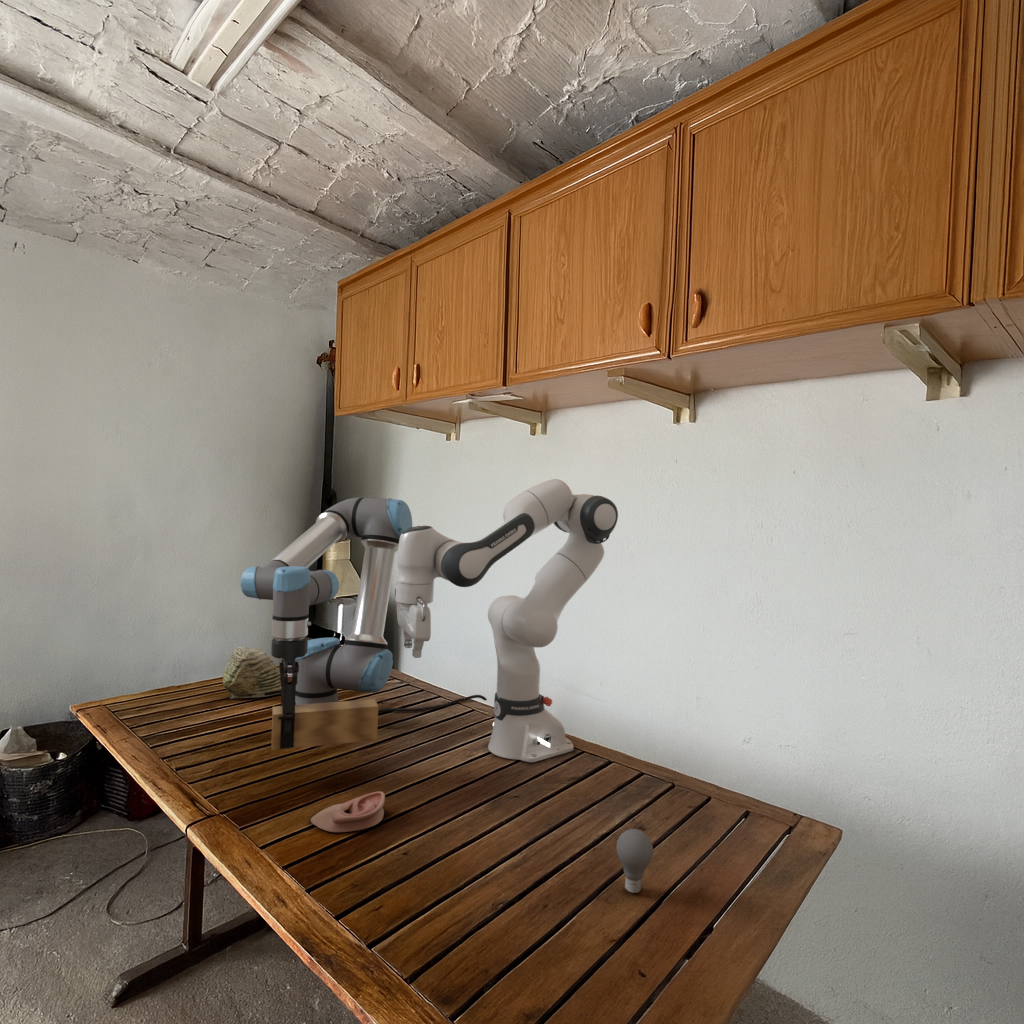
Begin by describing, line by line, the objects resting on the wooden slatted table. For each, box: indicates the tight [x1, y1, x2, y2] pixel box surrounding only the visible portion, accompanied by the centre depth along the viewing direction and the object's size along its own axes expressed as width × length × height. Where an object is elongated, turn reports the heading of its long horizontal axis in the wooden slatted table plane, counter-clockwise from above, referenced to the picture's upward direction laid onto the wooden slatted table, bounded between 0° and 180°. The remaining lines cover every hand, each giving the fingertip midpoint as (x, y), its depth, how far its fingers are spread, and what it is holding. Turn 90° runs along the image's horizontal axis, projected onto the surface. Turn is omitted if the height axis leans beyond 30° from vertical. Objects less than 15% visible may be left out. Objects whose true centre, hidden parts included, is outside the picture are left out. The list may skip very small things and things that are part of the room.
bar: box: [271, 698, 379, 751], centre depth 143 cm, size 22×5×8 cm, turn 111°
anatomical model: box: [310, 790, 386, 833], centre depth 125 cm, size 13×4×12 cm
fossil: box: [222, 646, 282, 699], centre depth 198 cm, size 9×18×15 cm, turn 132°
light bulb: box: [615, 828, 654, 894], centre depth 106 cm, size 6×6×10 cm
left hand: (286, 741), depth 140 cm, fingers closed on bar, 5 cm apart
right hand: (412, 652), depth 150 cm, fingers open, 8 cm apart
